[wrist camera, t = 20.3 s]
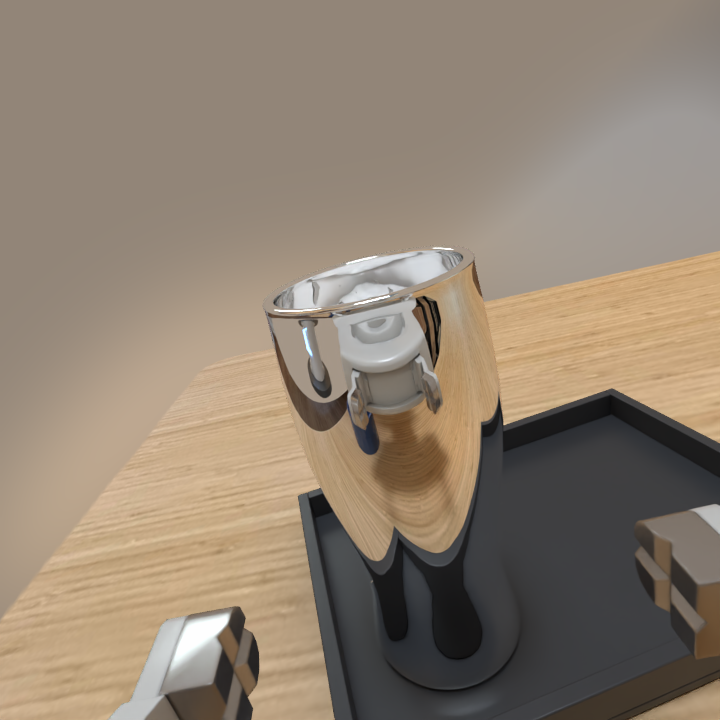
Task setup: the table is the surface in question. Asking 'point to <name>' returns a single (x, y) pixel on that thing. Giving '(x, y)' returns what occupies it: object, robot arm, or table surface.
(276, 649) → the table surface
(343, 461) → the silver goblet
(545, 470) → the tray
